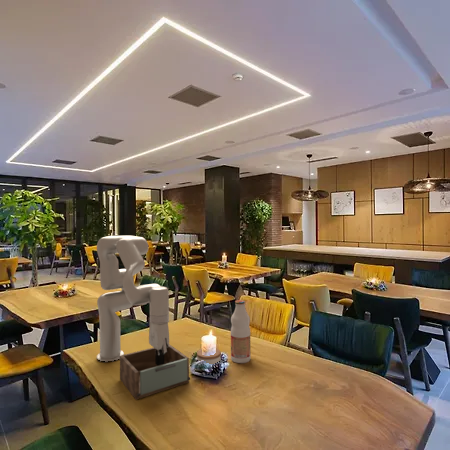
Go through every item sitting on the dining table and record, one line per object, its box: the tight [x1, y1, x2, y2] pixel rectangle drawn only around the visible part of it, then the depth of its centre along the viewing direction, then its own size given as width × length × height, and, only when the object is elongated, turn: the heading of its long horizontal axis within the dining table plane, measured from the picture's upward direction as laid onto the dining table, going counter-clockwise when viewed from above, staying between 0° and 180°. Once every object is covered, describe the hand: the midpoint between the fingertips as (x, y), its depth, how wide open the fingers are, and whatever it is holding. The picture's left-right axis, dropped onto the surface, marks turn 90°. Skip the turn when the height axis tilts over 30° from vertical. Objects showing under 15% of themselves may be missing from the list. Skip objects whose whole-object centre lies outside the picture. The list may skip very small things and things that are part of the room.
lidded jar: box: [196, 348, 222, 364], centre depth 144 cm, size 11×11×9 cm
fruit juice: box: [230, 299, 252, 364], centre depth 154 cm, size 9×9×28 cm
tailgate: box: [140, 358, 187, 395], centre depth 125 cm, size 2×19×8 cm, turn 125°
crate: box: [119, 343, 191, 400], centre depth 133 cm, size 21×22×10 cm
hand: (159, 363), depth 129 cm, fingers closed
